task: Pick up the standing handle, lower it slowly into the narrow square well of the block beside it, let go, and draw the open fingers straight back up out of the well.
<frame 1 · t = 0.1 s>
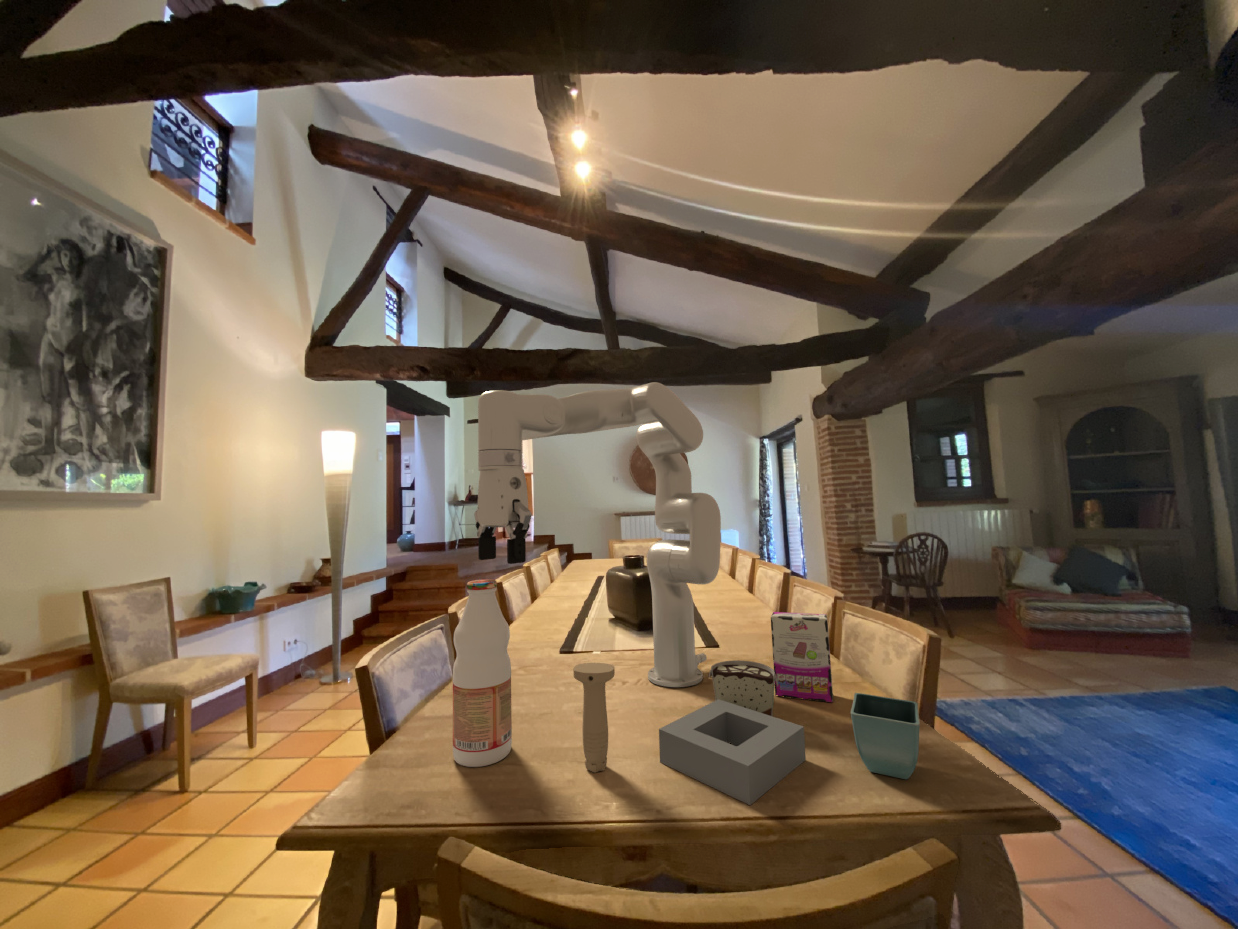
hand: (501, 561, 85), 31 cm above the table, tool pointing down, fingers open, 9 cm apart
fruit juice: (482, 755, 81), on the table
food container: (747, 722, 91), on the table
candy bar box: (803, 696, 102), on the table
flower pot: (888, 770, 74), on the table
well block: (732, 761, 77), on the table
handle: (596, 769, 76), on the table
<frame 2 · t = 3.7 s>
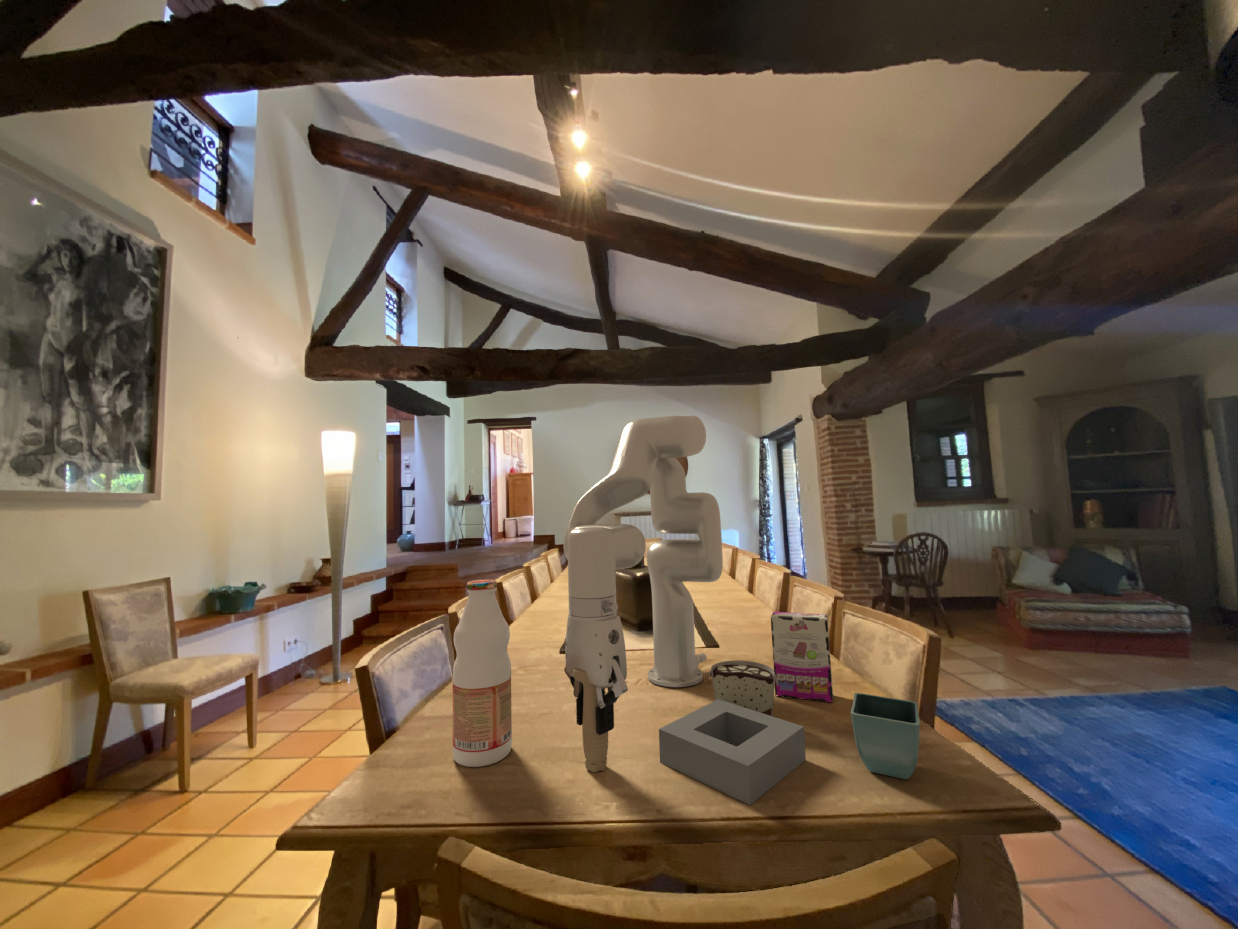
hand: (595, 725, 76), 6 cm above the table, tool pointing down, fingers closed on handle, 3 cm apart
handle: (596, 769, 76), on the table, touching gripper
everything else where it was.
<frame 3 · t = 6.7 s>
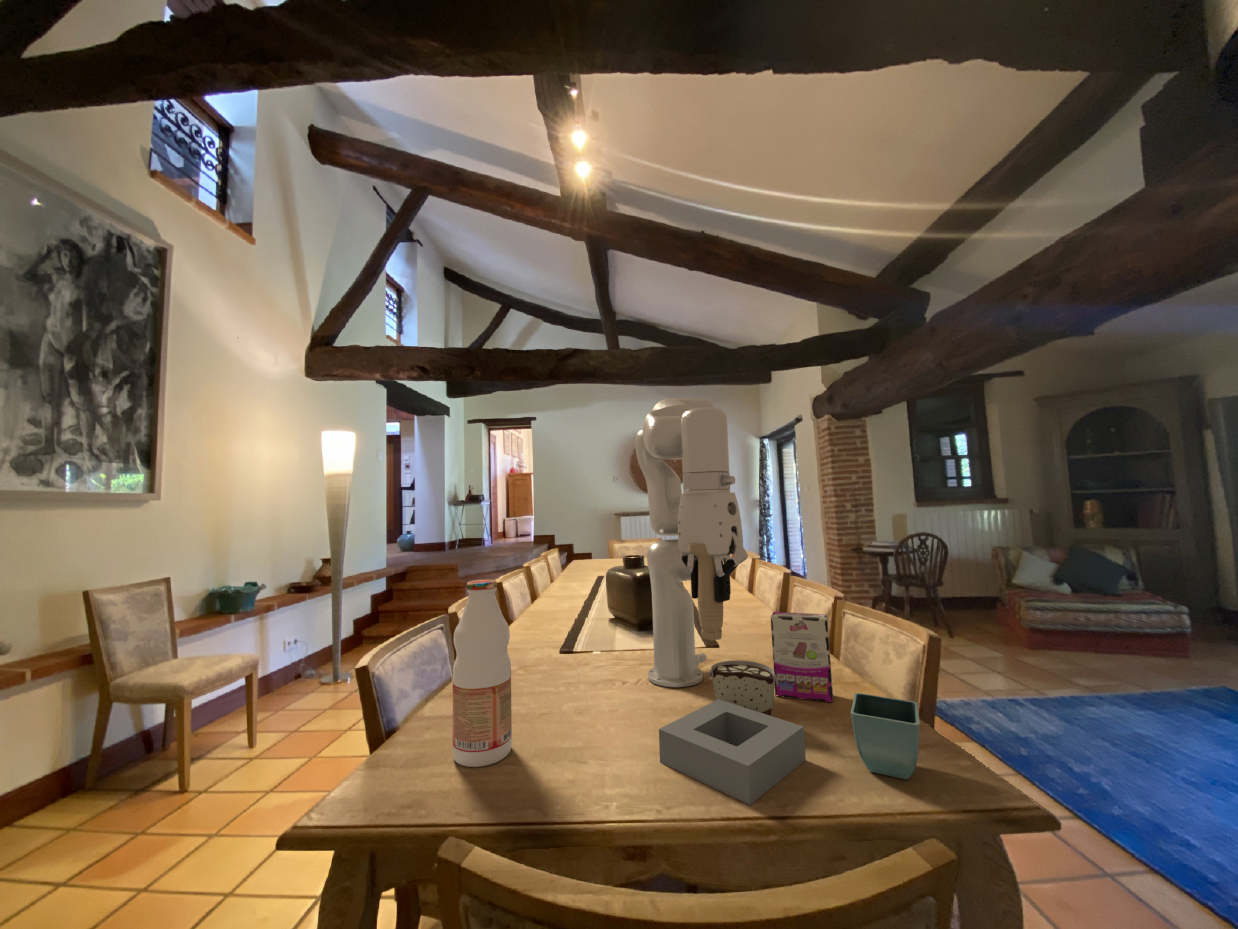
hand: (710, 598, 79), 25 cm above the table, tool pointing down, fingers closed on handle, 3 cm apart
handle: (711, 639, 78), point 19 cm above the table, touching gripper
everything else where it was.
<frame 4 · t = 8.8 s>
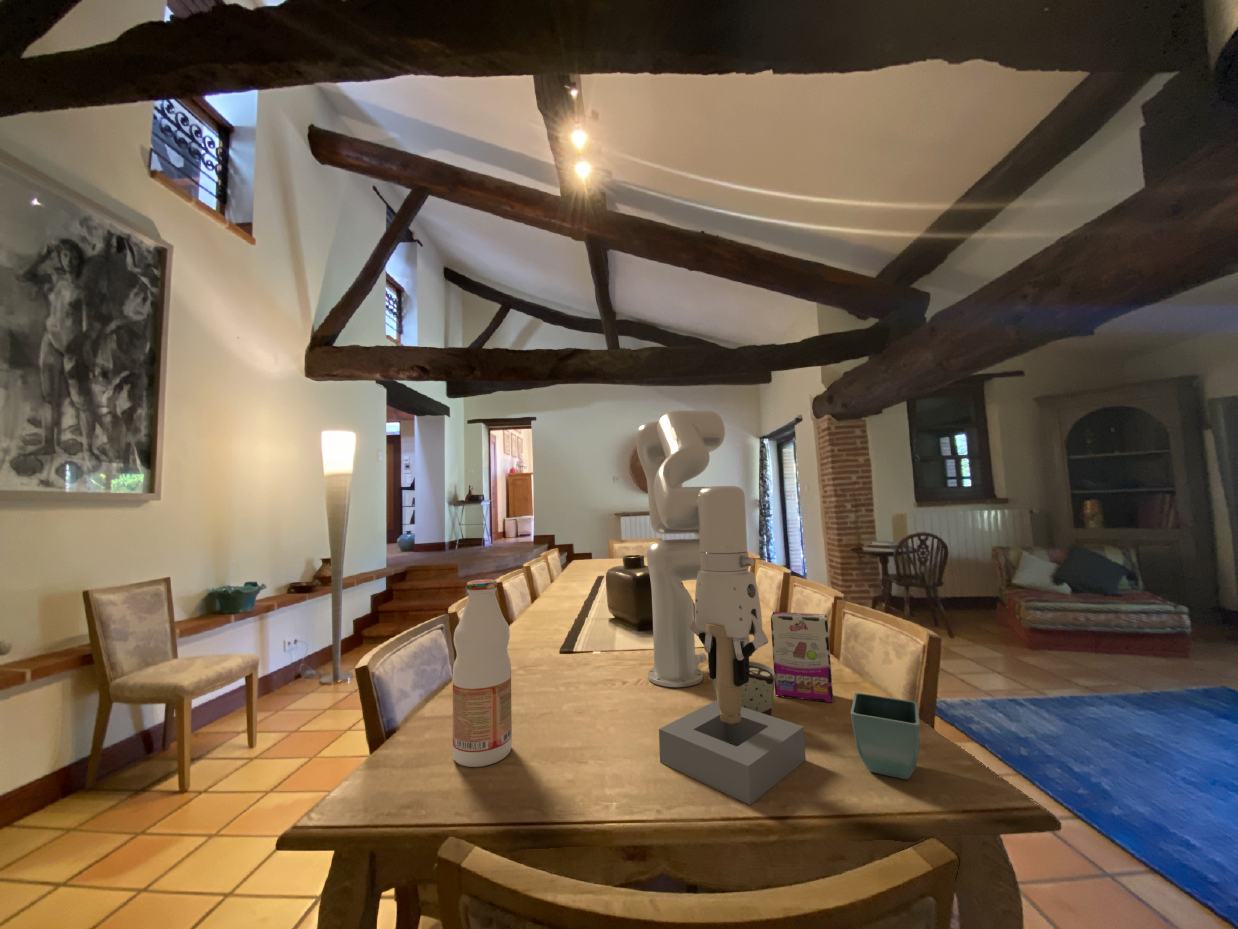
hand: (729, 679, 78), 12 cm above the table, tool pointing down, fingers closed on handle, 3 cm apart
handle: (730, 722, 77), point 6 cm above the table, touching gripper
everything else where it was.
when the fingers open (8 cm above the table, at t = 10.0 s): handle drops 1 cm, resting in well block.
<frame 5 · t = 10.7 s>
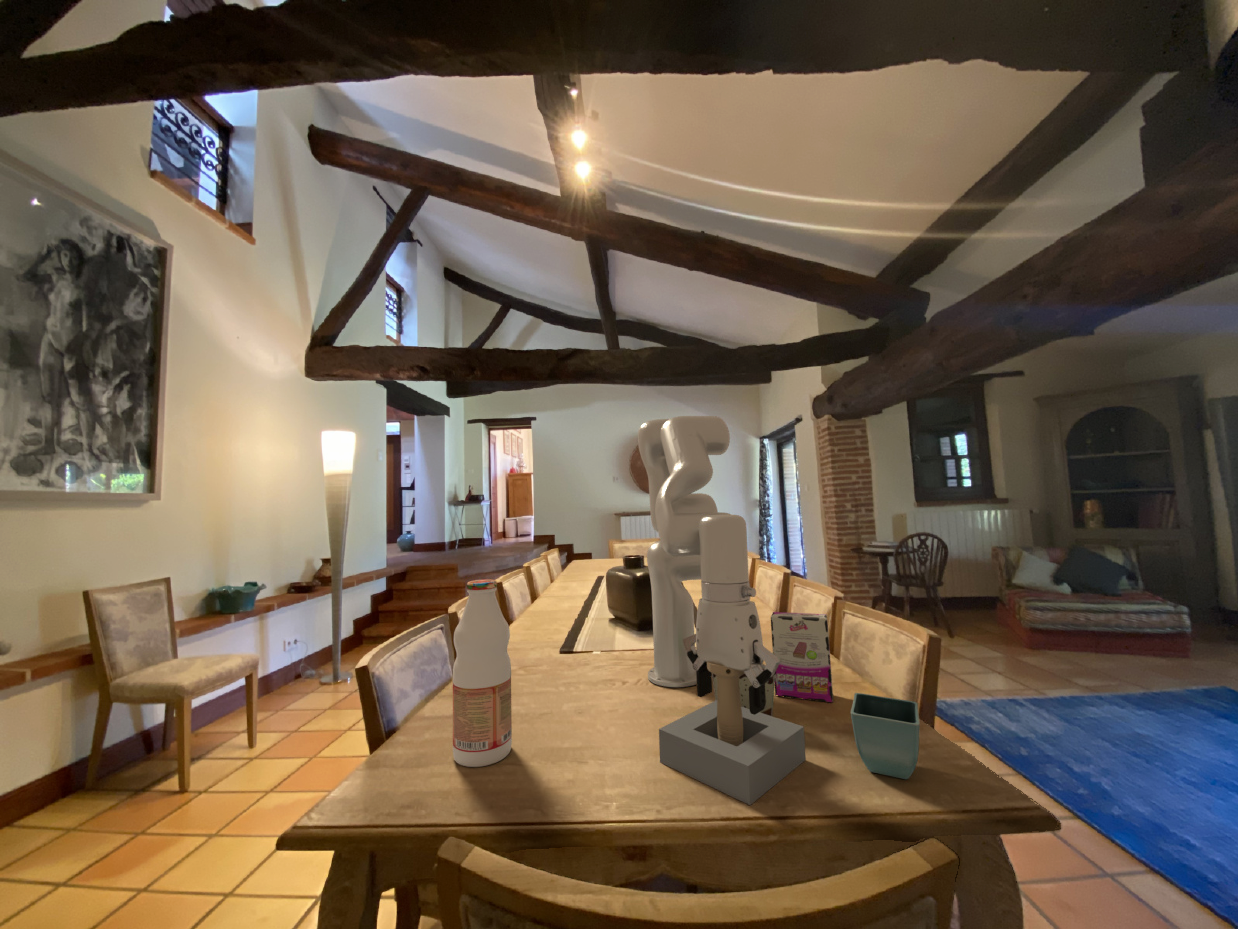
hand: (730, 702, 78), 9 cm above the table, tool pointing down, fingers open, 9 cm apart
handle: (731, 761, 77), resting in well block
everything else where it was.
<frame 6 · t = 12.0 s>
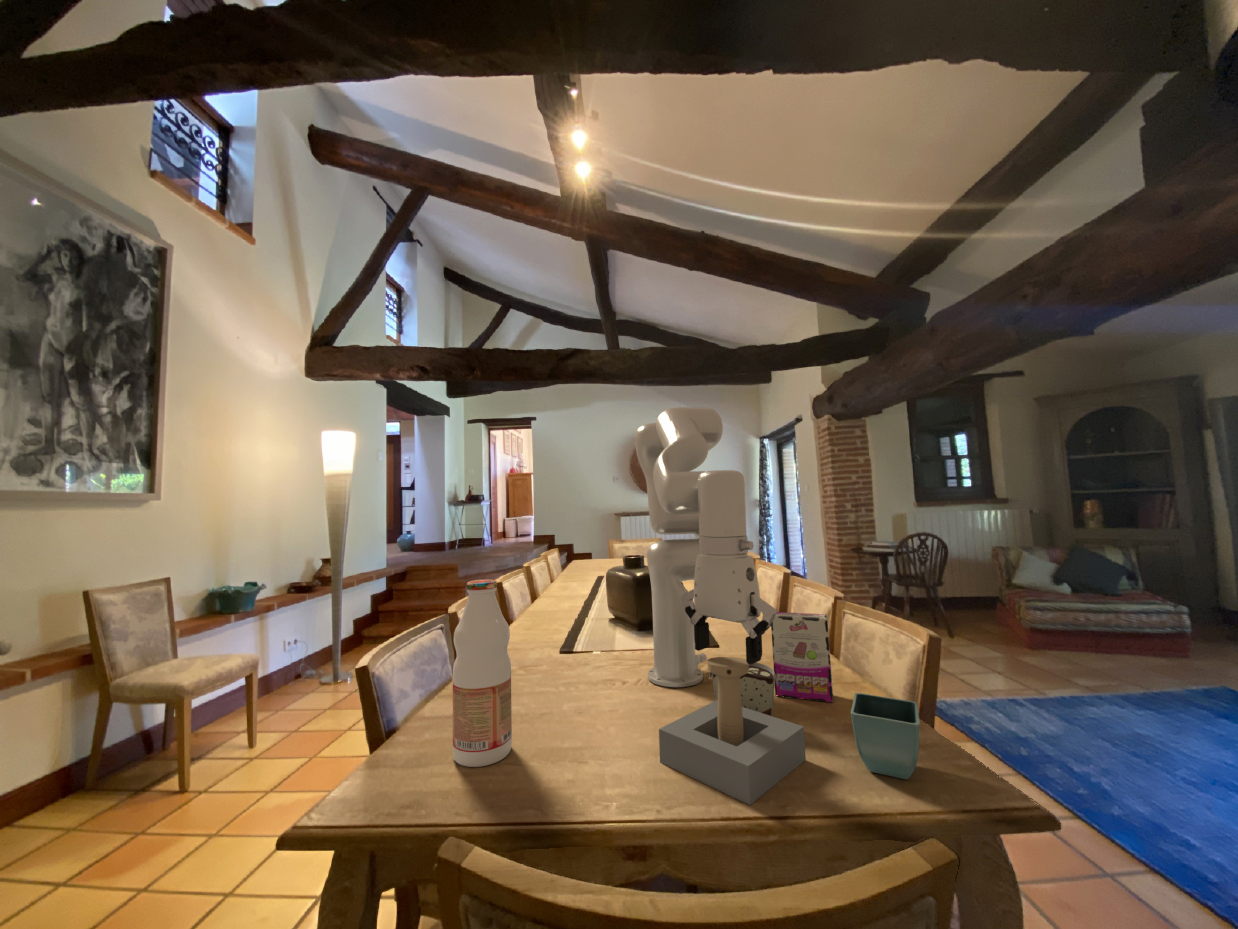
hand: (727, 655, 79), 16 cm above the table, tool pointing down, fingers open, 9 cm apart
nothing on the table moved.
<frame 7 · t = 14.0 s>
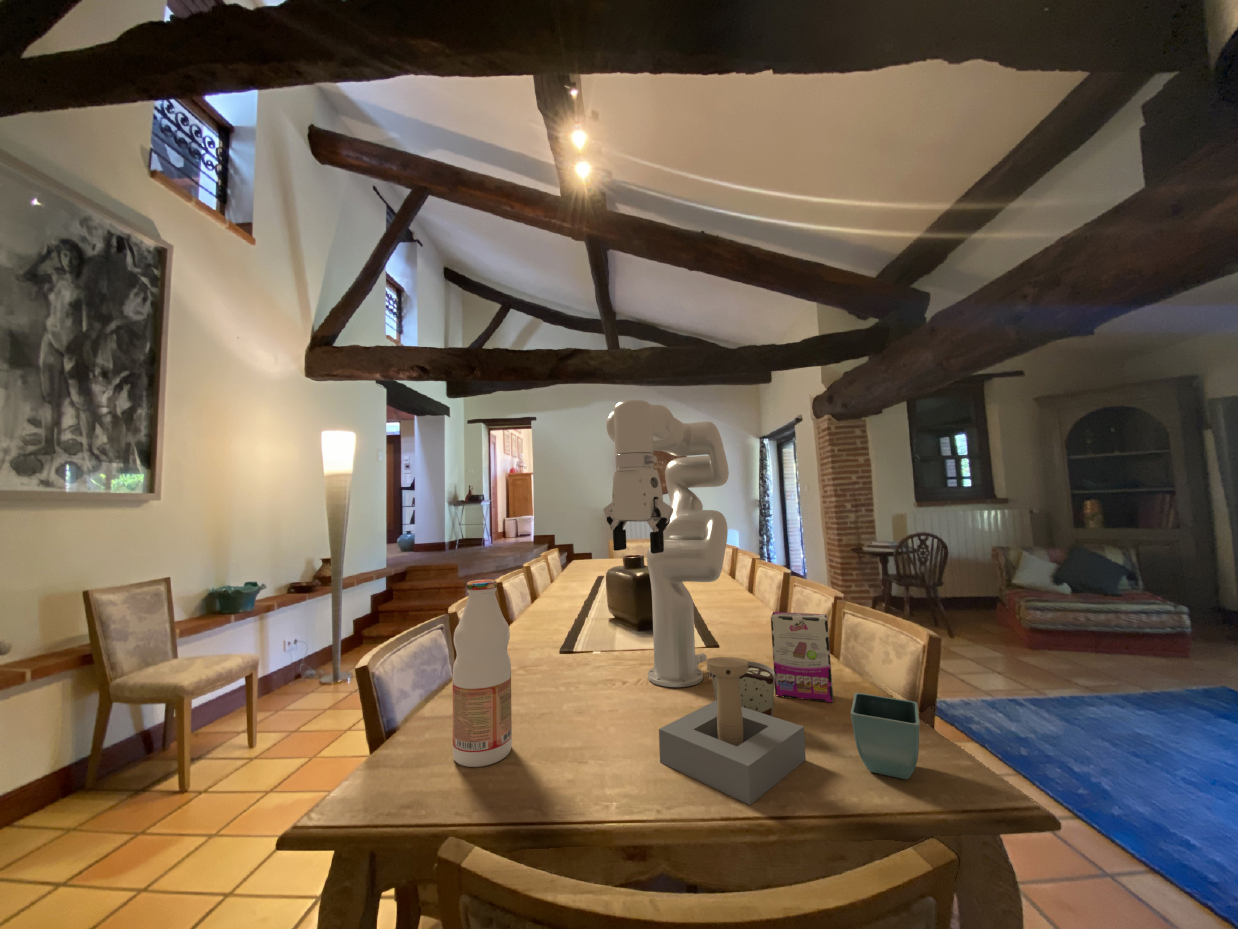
hand: (638, 551, 96), 31 cm above the table, tool pointing down, fingers open, 9 cm apart
nothing on the table moved.
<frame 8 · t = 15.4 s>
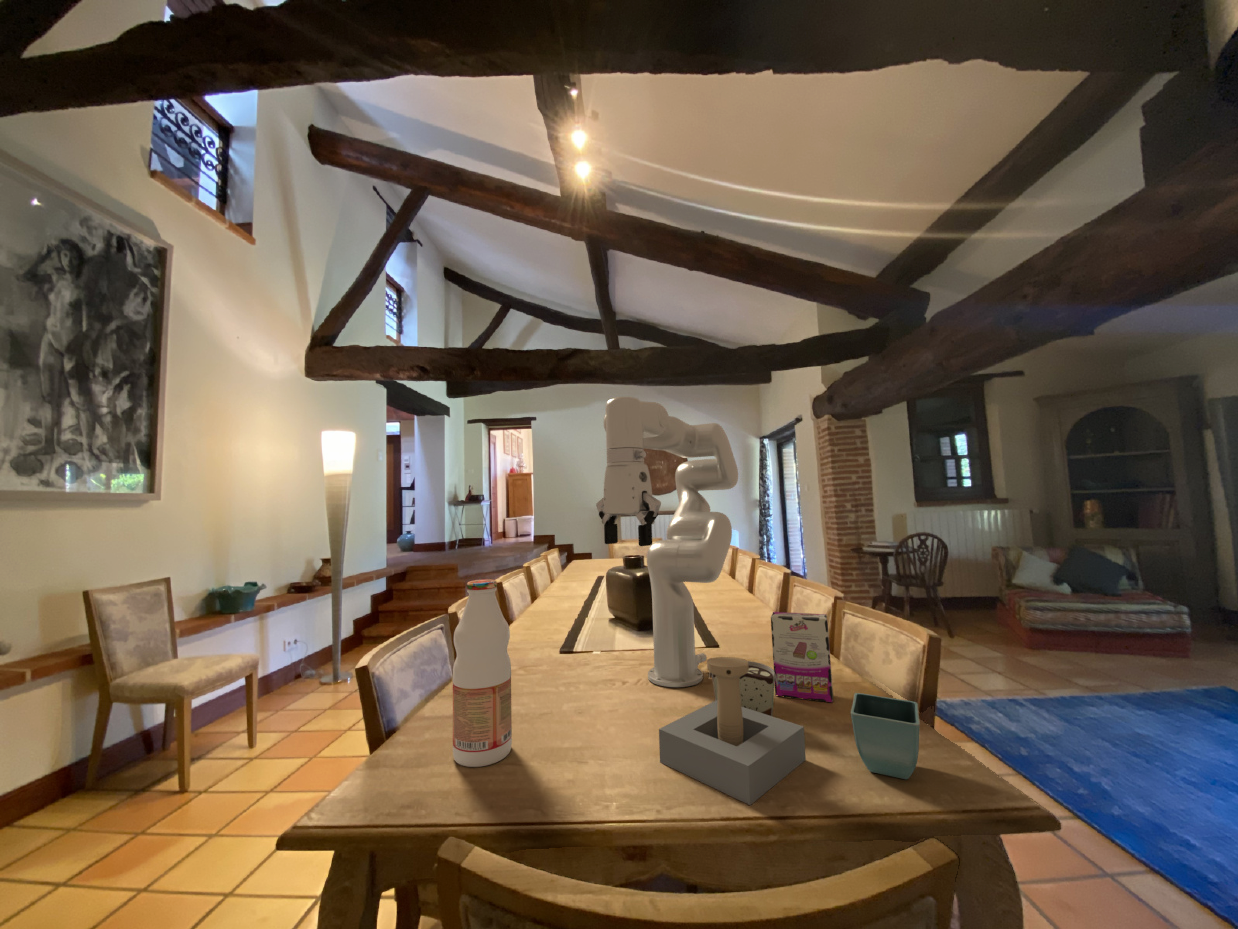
hand: (627, 544, 98), 32 cm above the table, tool pointing down, fingers open, 9 cm apart
nothing on the table moved.
at the end: handle 0.2 cm off-centre on the well block, point 0.0 cm above the well block's base; handle tilted 0°; the gripper is holding nothing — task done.
